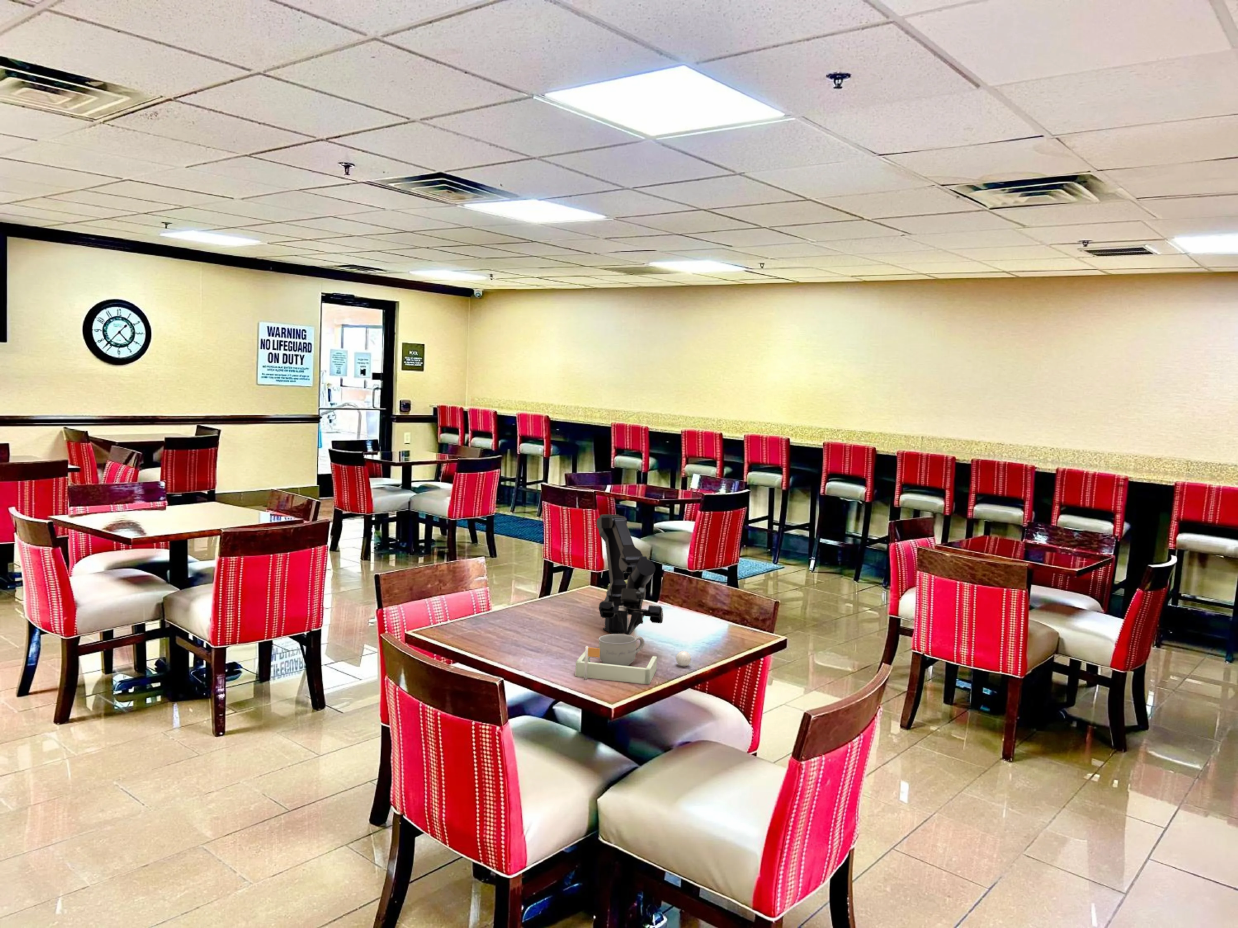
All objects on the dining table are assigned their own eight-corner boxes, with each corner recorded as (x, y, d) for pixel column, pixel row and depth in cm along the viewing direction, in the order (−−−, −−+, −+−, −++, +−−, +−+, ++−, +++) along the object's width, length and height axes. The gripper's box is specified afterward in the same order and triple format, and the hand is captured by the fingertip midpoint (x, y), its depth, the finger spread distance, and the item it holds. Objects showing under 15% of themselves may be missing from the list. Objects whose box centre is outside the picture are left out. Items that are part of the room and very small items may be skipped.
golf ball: (684, 662, 254) (685, 648, 253) (693, 666, 250) (694, 652, 250) (672, 664, 252) (673, 650, 251) (681, 669, 248) (682, 654, 248)
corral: (585, 662, 250) (587, 631, 249) (656, 670, 246) (657, 638, 245) (573, 678, 237) (575, 645, 236) (648, 686, 233) (649, 653, 232)
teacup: (603, 672, 243) (604, 643, 242) (593, 659, 253) (594, 632, 252) (651, 669, 247) (652, 641, 246) (638, 657, 257) (639, 630, 256)
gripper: (601, 574, 260) (591, 620, 250) (663, 579, 256) (655, 626, 246) (605, 594, 268) (596, 639, 258) (666, 599, 264) (658, 645, 255)
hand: (626, 637), depth 254 cm, fingers closed, pressing on teacup
